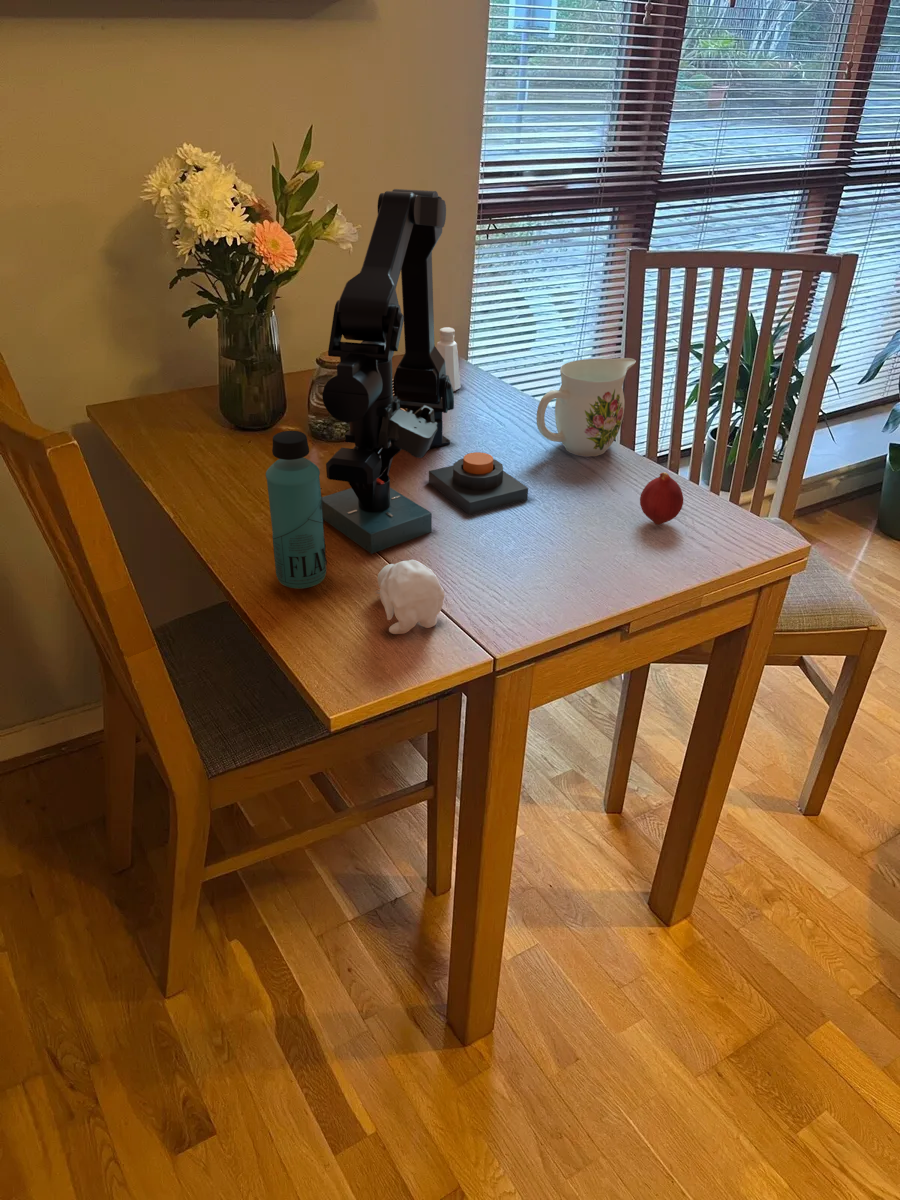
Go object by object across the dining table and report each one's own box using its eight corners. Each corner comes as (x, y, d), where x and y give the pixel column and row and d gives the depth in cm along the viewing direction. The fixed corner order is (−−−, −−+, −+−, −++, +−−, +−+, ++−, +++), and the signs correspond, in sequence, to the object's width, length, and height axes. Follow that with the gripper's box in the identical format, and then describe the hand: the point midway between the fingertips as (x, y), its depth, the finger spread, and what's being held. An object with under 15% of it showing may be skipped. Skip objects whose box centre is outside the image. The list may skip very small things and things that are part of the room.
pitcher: (516, 447, 151) (520, 365, 144) (604, 428, 159) (613, 349, 151) (554, 473, 143) (560, 388, 136) (645, 451, 151) (656, 369, 143)
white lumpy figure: (393, 580, 99) (359, 539, 109) (397, 648, 103) (364, 602, 113) (447, 569, 101) (409, 529, 111) (449, 636, 105) (412, 592, 115)
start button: (457, 466, 136) (457, 455, 135) (482, 460, 138) (483, 449, 137) (473, 478, 133) (473, 466, 132) (498, 471, 135) (499, 460, 134)
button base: (428, 482, 140) (428, 458, 138) (484, 469, 144) (485, 445, 142) (469, 515, 131) (470, 490, 129) (527, 500, 135) (529, 475, 133)
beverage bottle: (286, 604, 111) (271, 451, 100) (269, 579, 116) (252, 430, 105) (336, 592, 114) (327, 441, 103) (317, 567, 118) (306, 420, 108)
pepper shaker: (429, 391, 172) (429, 332, 166) (434, 381, 177) (435, 323, 171) (458, 393, 171) (459, 334, 165) (462, 383, 176) (464, 325, 170)
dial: (352, 503, 127) (350, 475, 125) (378, 494, 129) (377, 466, 127) (370, 515, 124) (369, 486, 122) (396, 506, 126) (396, 478, 124)
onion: (653, 510, 133) (660, 459, 129) (687, 524, 130) (696, 472, 125) (629, 523, 130) (636, 471, 125) (663, 538, 126) (671, 485, 122)
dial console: (319, 517, 130) (318, 497, 128) (378, 497, 135) (377, 478, 134) (371, 554, 122) (370, 533, 120) (431, 532, 127) (431, 511, 125)
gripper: (409, 426, 109) (410, 542, 117) (449, 375, 124) (448, 480, 132) (321, 416, 111) (328, 530, 120) (371, 367, 126) (374, 471, 135)
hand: (374, 502), depth 126 cm, fingers closed on dial, 4 cm apart
